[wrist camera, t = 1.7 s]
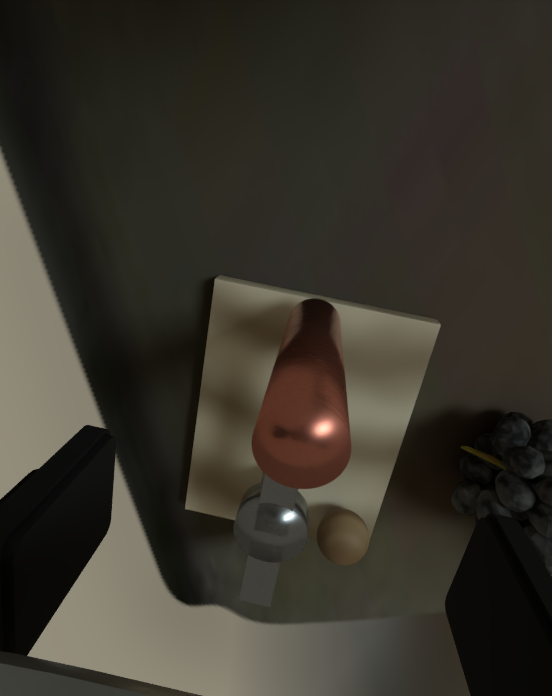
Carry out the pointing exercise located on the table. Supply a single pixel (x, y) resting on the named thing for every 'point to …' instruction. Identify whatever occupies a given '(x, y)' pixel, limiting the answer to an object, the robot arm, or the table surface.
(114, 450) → the robot arm
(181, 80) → the table surface
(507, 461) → the fruit
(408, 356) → the board
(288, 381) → the lever
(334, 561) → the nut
